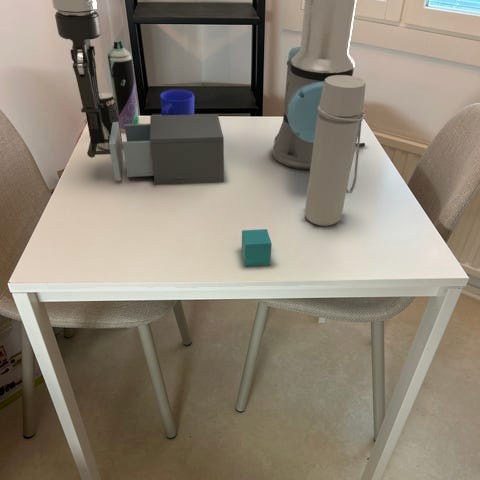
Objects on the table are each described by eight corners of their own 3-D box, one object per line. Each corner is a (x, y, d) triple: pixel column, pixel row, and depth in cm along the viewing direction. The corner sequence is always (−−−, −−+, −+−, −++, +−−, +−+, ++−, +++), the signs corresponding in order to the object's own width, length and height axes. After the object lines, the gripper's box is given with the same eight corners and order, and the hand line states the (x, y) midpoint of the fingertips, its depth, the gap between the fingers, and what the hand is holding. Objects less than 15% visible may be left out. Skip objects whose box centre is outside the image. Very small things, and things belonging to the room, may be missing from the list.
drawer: (90, 181, 100) (83, 144, 95) (95, 157, 109) (89, 122, 103) (179, 178, 102) (177, 141, 97) (177, 154, 111) (175, 120, 105)
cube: (265, 250, 85) (267, 228, 82) (270, 264, 82) (271, 243, 79) (241, 251, 84) (241, 230, 81) (244, 266, 81) (245, 244, 78)
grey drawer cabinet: (154, 184, 102) (149, 139, 95) (154, 158, 111) (150, 115, 105) (223, 181, 104) (223, 136, 97) (218, 156, 113) (217, 113, 106)
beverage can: (97, 142, 117) (88, 90, 109) (121, 140, 118) (113, 89, 110) (99, 152, 113) (89, 99, 105) (123, 150, 114) (116, 97, 106)
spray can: (128, 134, 121) (116, 45, 108) (114, 128, 124) (100, 41, 110) (144, 127, 124) (134, 41, 111) (129, 122, 127) (118, 37, 113)
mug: (151, 146, 116) (146, 103, 109) (171, 128, 125) (168, 87, 118) (182, 151, 114) (179, 108, 108) (200, 132, 123) (199, 91, 116)
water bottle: (312, 231, 90) (333, 90, 73) (297, 210, 95) (313, 74, 78) (357, 225, 92) (387, 86, 75) (340, 204, 97) (364, 71, 80)
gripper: (59, 3, 89) (83, 130, 105) (48, 18, 79) (75, 155, 96) (101, 4, 90) (117, 129, 106) (94, 19, 80) (114, 155, 96)
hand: (98, 141), depth 101 cm, fingers closed
